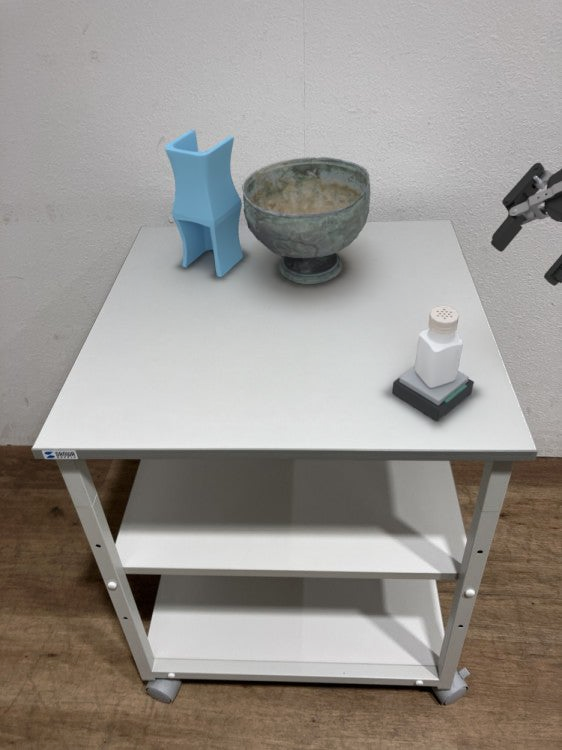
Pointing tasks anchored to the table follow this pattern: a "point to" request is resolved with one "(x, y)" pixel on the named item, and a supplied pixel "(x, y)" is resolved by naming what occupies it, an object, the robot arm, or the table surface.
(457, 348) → the salt shaker
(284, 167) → the bowl
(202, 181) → the blue curved channel stand
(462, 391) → the kitchen scale
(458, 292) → the table surface
